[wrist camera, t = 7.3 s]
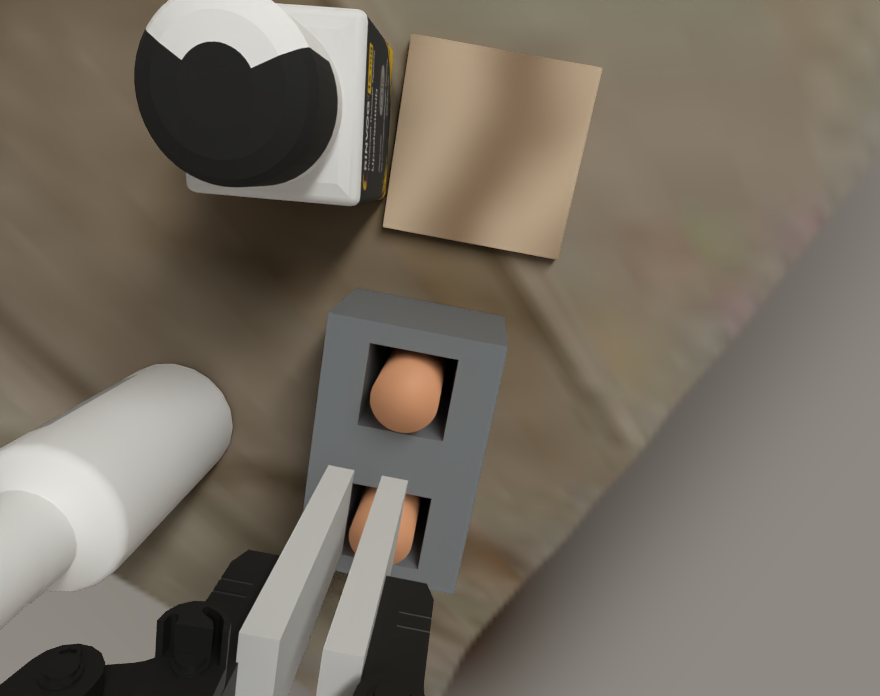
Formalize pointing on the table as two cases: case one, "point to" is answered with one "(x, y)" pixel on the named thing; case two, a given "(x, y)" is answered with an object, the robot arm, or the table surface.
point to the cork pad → (488, 145)
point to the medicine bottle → (268, 99)
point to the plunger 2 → (406, 523)
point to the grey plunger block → (417, 453)
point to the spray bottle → (103, 479)
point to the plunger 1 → (408, 390)
